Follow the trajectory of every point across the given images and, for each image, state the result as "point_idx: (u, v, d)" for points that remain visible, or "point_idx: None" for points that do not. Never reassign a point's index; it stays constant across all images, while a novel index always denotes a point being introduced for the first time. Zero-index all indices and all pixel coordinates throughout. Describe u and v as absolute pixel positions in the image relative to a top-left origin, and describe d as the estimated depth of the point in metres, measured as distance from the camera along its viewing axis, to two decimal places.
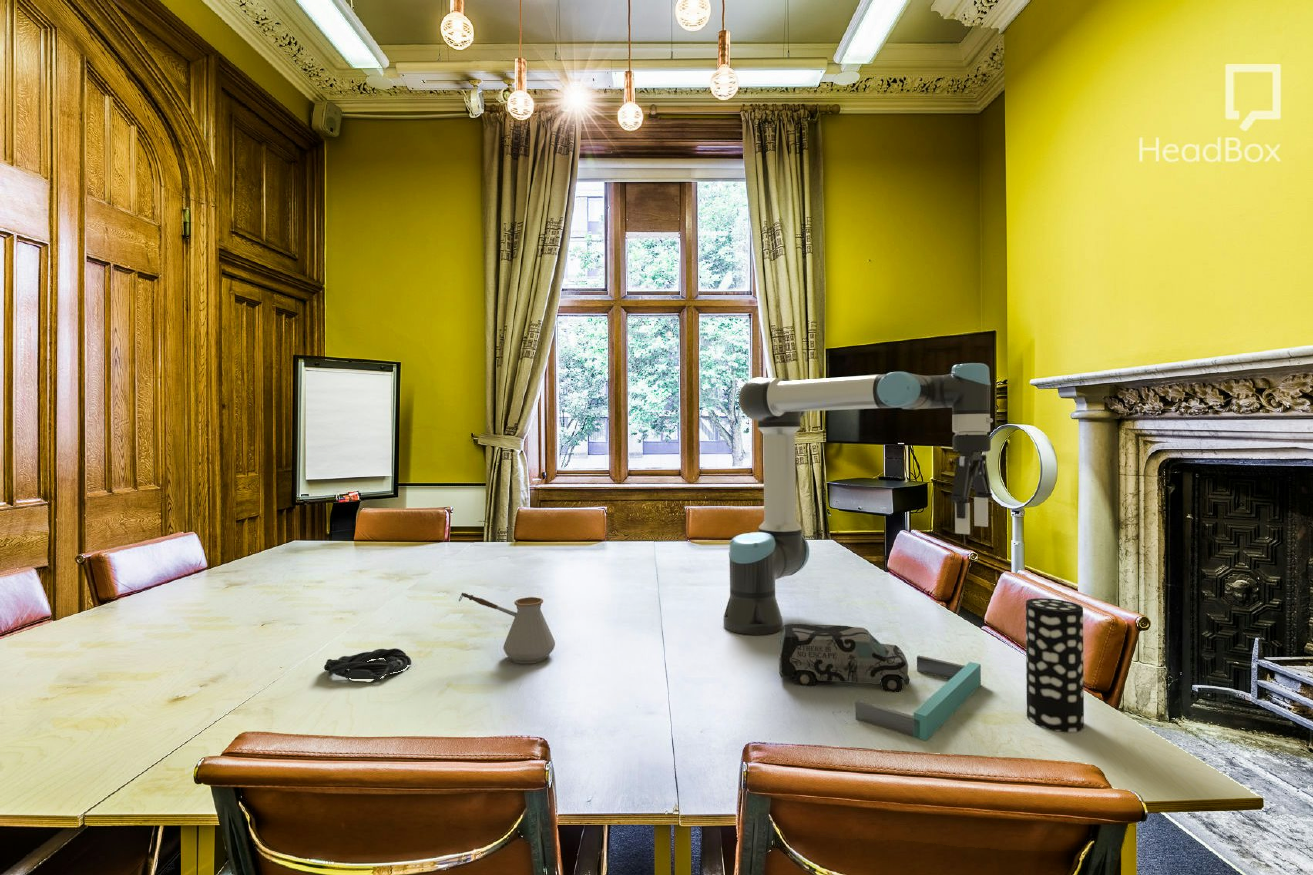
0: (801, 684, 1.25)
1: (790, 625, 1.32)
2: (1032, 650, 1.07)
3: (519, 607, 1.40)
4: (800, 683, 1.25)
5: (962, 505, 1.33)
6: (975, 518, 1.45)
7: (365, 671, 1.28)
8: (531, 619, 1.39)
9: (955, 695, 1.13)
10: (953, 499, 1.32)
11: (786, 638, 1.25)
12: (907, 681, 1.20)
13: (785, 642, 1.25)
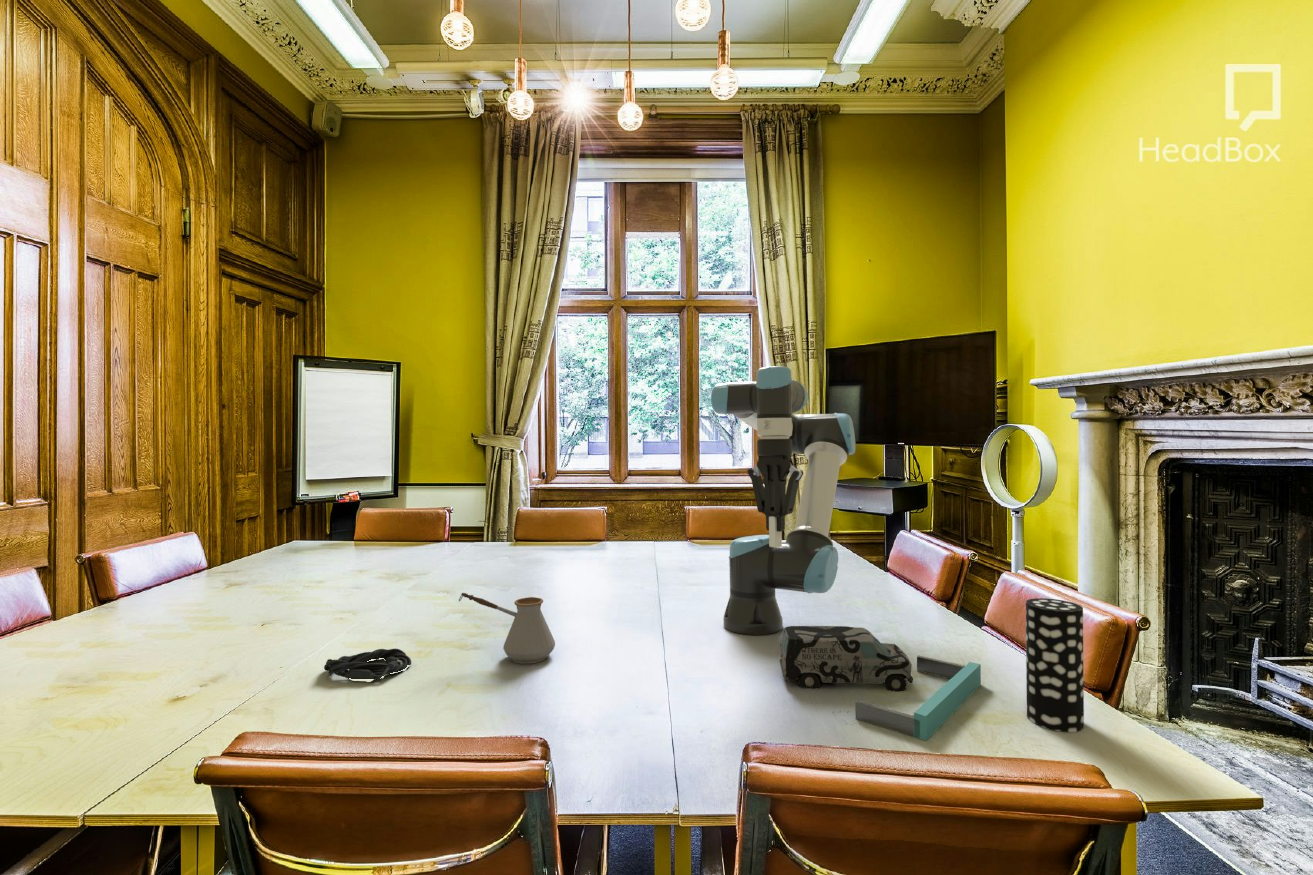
0: (806, 687, 1.23)
1: (791, 627, 1.30)
2: (1032, 650, 1.07)
3: (519, 607, 1.40)
4: (805, 686, 1.23)
5: None
6: None
7: (365, 671, 1.28)
8: (531, 619, 1.39)
9: (955, 695, 1.13)
10: None
11: (790, 641, 1.24)
12: (911, 680, 1.21)
13: (790, 645, 1.24)
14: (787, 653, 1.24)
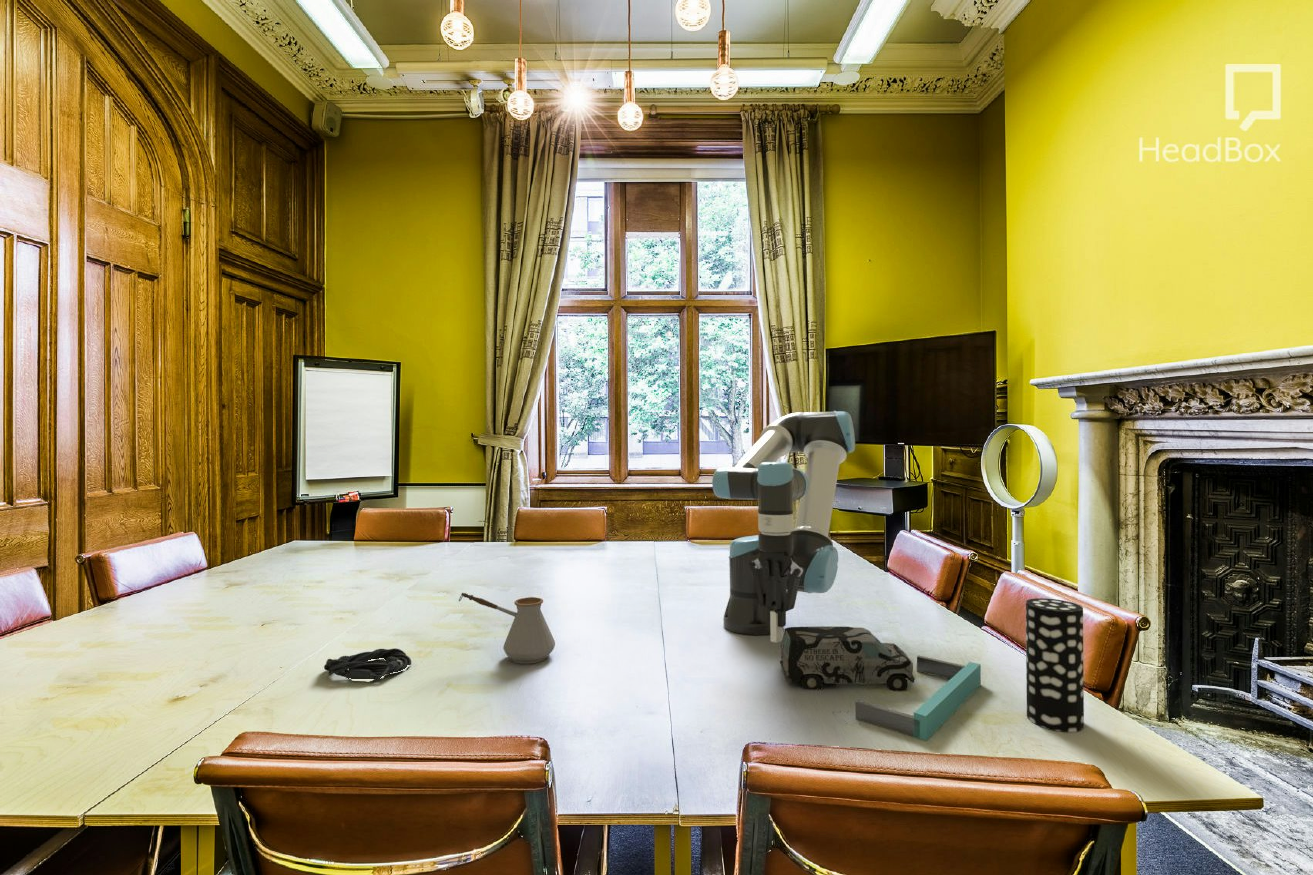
0: (808, 688, 1.23)
1: (792, 628, 1.30)
2: (1032, 650, 1.07)
3: (519, 607, 1.40)
4: (807, 687, 1.23)
5: None
6: None
7: (365, 671, 1.28)
8: (531, 619, 1.39)
9: (955, 695, 1.13)
10: None
11: (793, 642, 1.23)
12: (912, 679, 1.21)
13: (792, 646, 1.23)
14: (789, 654, 1.23)
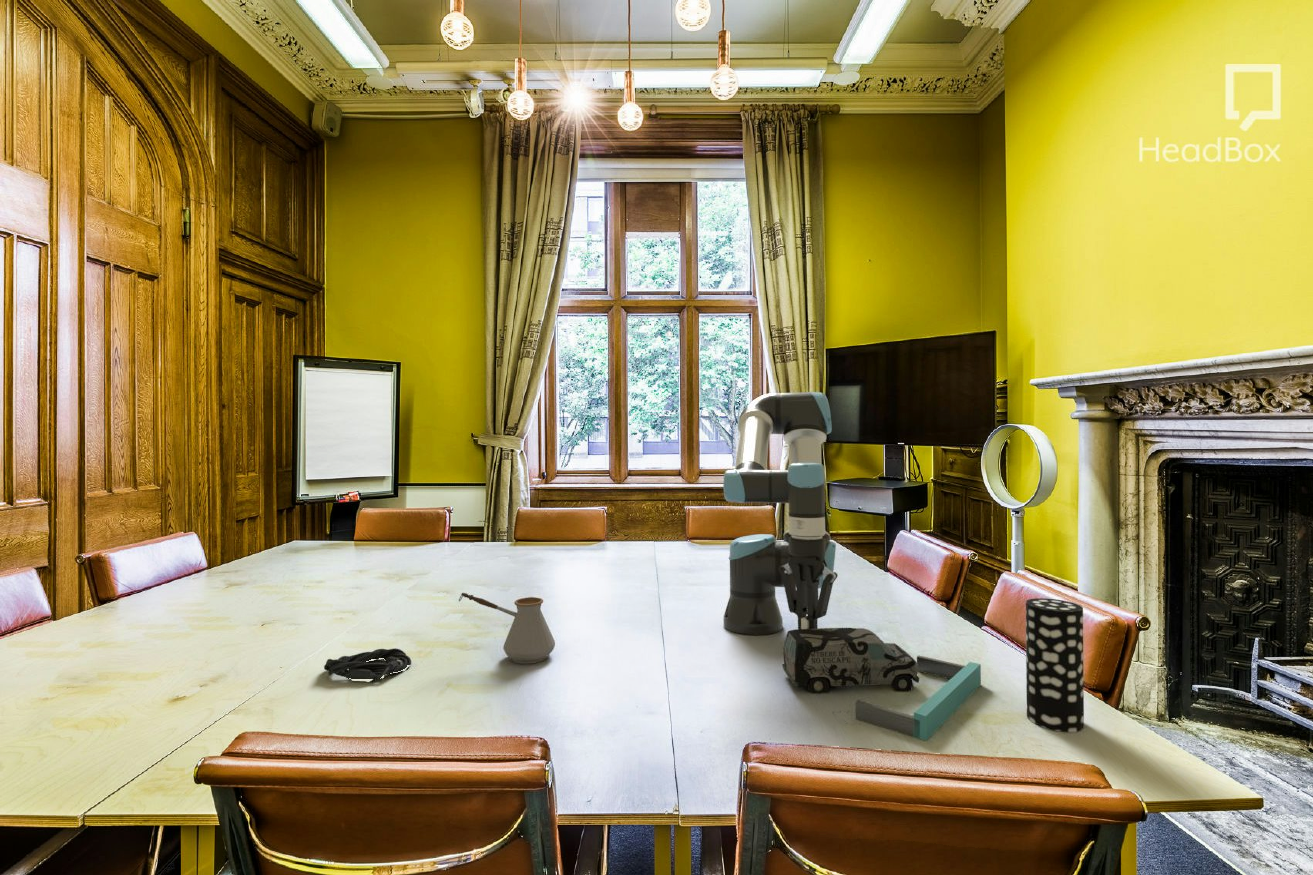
0: (815, 691, 1.21)
1: (795, 631, 1.28)
2: (1032, 650, 1.07)
3: (519, 607, 1.40)
4: (814, 690, 1.21)
5: None
6: None
7: (365, 671, 1.28)
8: (531, 619, 1.39)
9: (955, 695, 1.13)
10: None
11: (799, 645, 1.21)
12: (917, 679, 1.21)
13: (798, 649, 1.21)
14: (796, 658, 1.21)
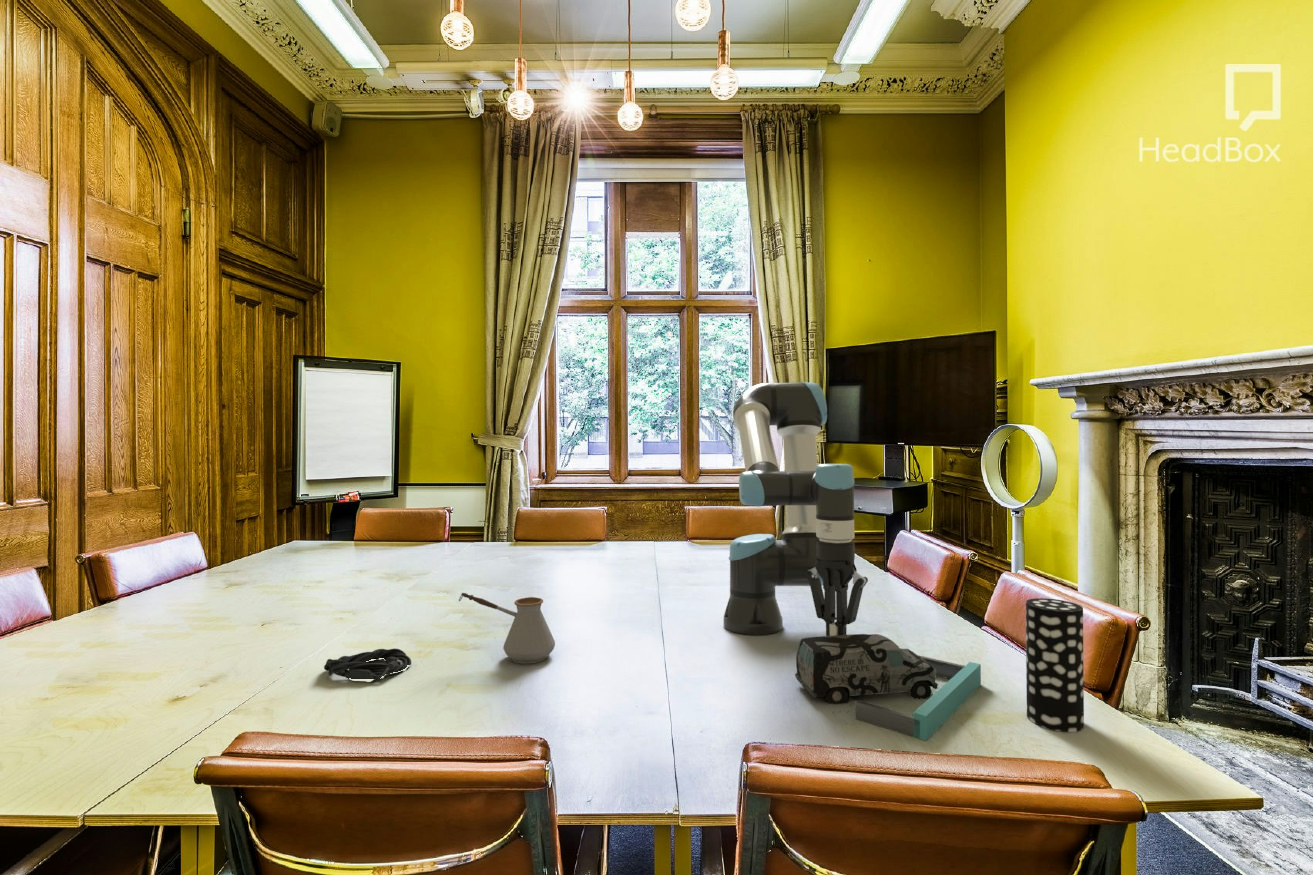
0: (834, 702, 1.16)
1: (810, 639, 1.23)
2: (1032, 650, 1.07)
3: (519, 607, 1.40)
4: (833, 701, 1.16)
5: None
6: None
7: (365, 671, 1.28)
8: (531, 619, 1.39)
9: (955, 695, 1.13)
10: None
11: (818, 654, 1.16)
12: (936, 685, 1.18)
13: (817, 659, 1.16)
14: (815, 668, 1.16)
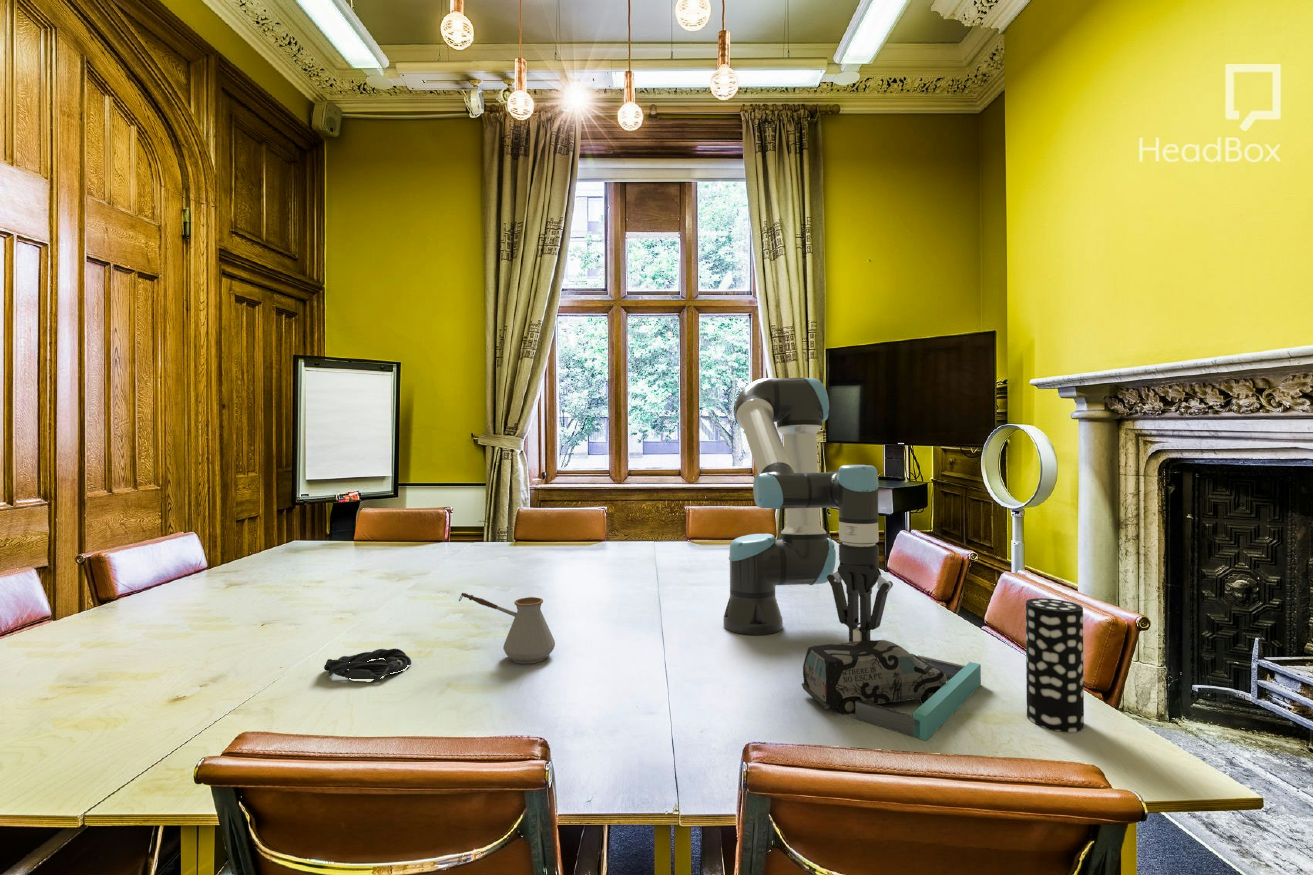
0: (846, 713, 1.12)
1: (818, 647, 1.18)
2: (1032, 650, 1.07)
3: (519, 607, 1.40)
4: (845, 712, 1.12)
5: None
6: None
7: (365, 671, 1.28)
8: (531, 619, 1.39)
9: (955, 695, 1.13)
10: None
11: (830, 664, 1.11)
12: None
13: (830, 668, 1.11)
14: (827, 678, 1.11)
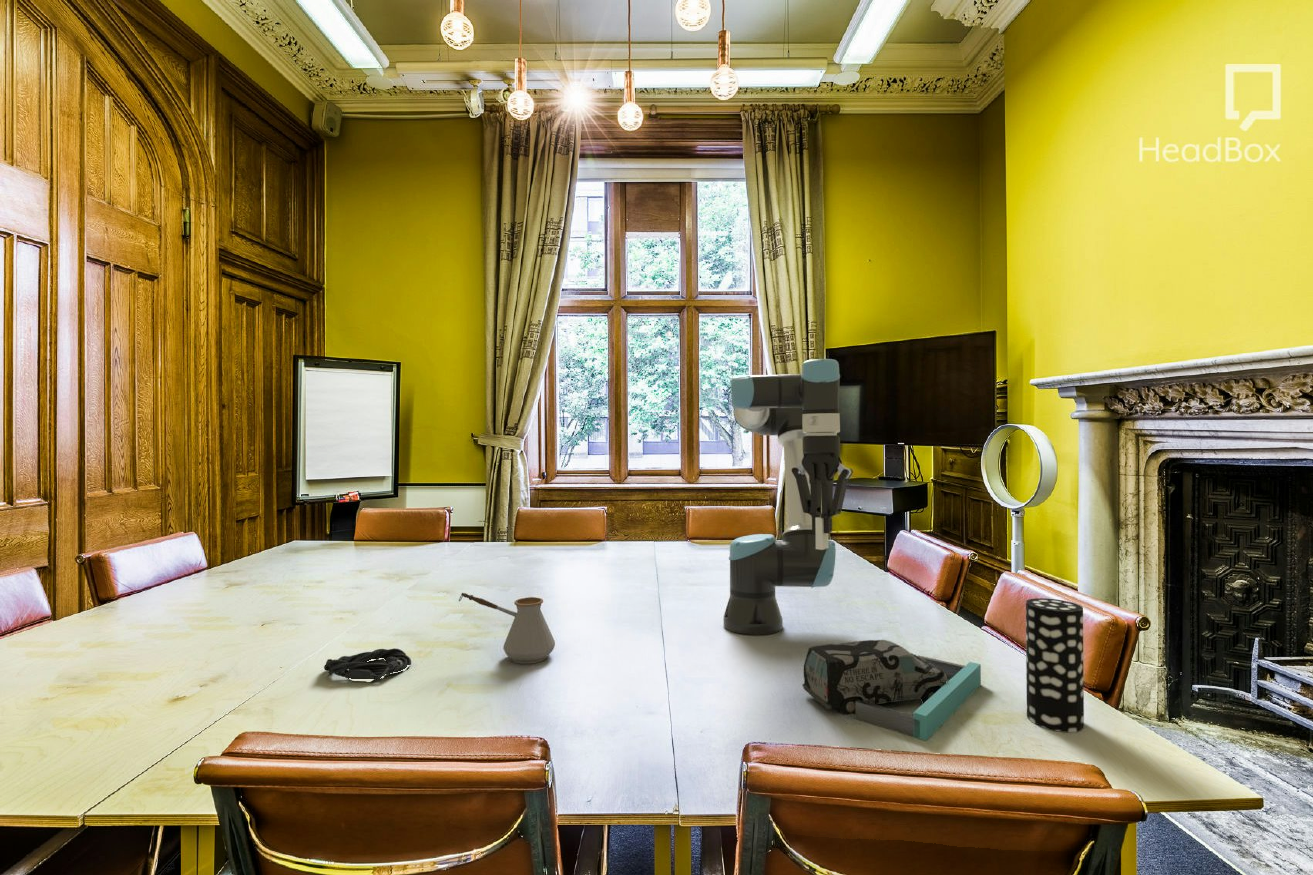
0: (848, 713, 1.12)
1: (819, 647, 1.18)
2: (1032, 650, 1.07)
3: (519, 607, 1.40)
4: (847, 712, 1.12)
5: None
6: None
7: (365, 671, 1.28)
8: (531, 619, 1.39)
9: (955, 695, 1.13)
10: None
11: (831, 664, 1.11)
12: None
13: (831, 669, 1.11)
14: (829, 678, 1.11)
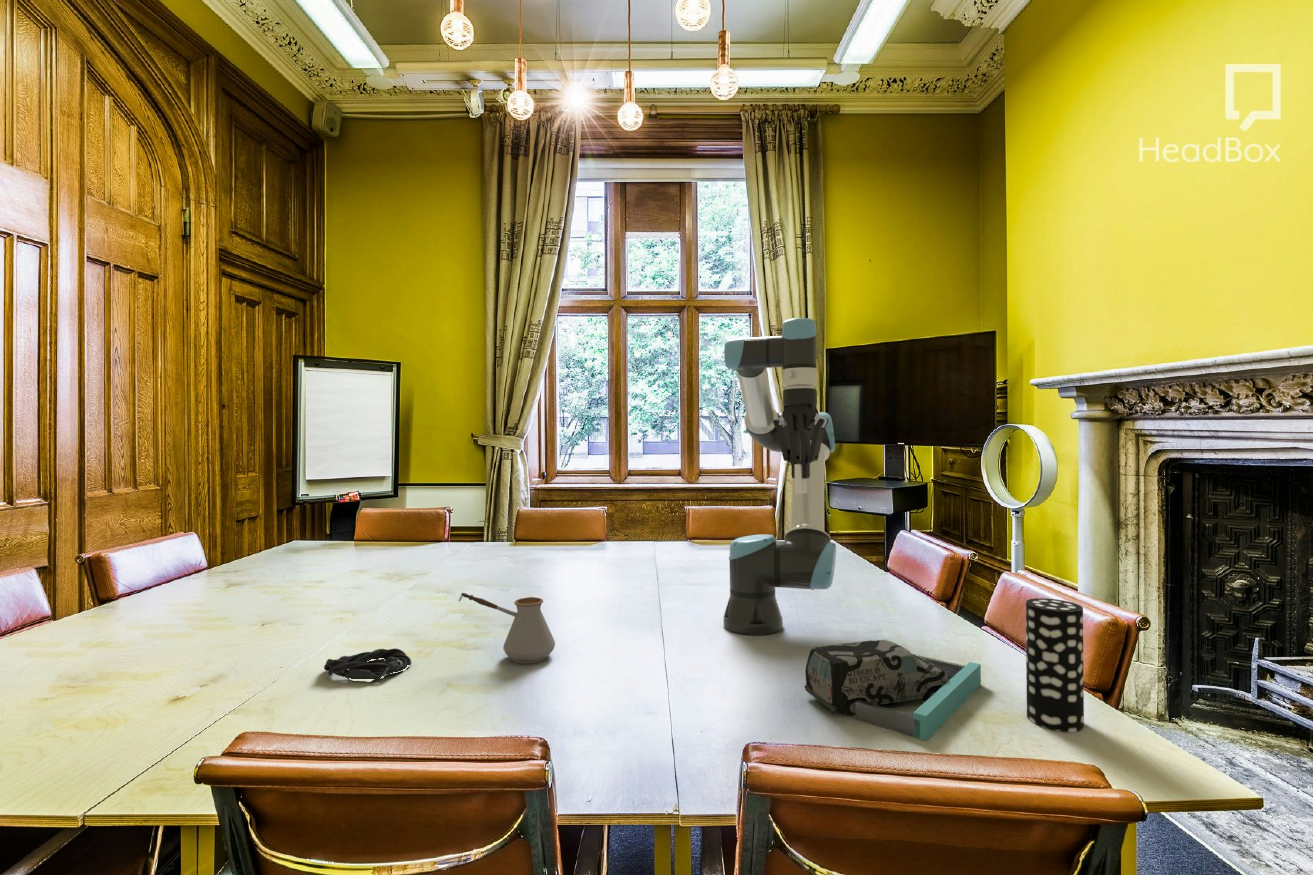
0: (851, 714, 1.11)
1: (821, 648, 1.17)
2: (1032, 650, 1.07)
3: (519, 607, 1.40)
4: (850, 713, 1.11)
5: None
6: None
7: (365, 671, 1.28)
8: (531, 619, 1.39)
9: (955, 695, 1.13)
10: None
11: (835, 665, 1.11)
12: None
13: (835, 670, 1.10)
14: (833, 679, 1.10)
